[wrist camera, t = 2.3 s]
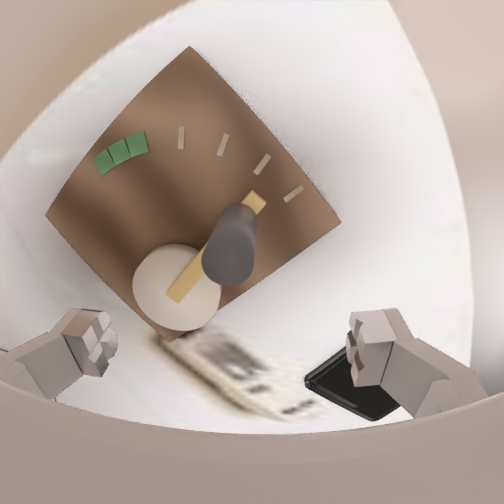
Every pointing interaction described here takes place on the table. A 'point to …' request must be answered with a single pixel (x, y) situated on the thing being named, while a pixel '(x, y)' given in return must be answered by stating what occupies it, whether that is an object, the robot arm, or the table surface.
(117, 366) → the table surface
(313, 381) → the phone
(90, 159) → the gauge panel
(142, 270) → the dial knob with pointer
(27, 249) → the table surface
